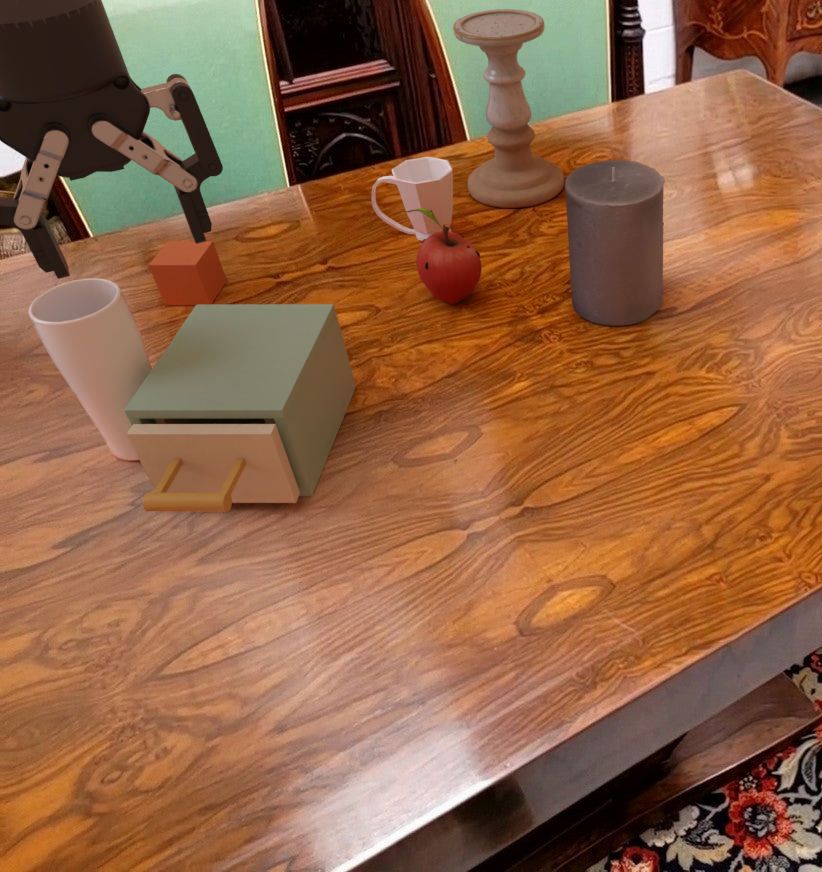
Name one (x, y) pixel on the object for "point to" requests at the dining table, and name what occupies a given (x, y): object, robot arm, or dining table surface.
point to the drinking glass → (95, 352)
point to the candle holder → (508, 113)
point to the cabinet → (257, 376)
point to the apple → (448, 264)
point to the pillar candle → (615, 241)
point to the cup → (421, 194)
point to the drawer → (213, 463)
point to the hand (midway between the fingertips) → (132, 255)
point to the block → (188, 273)
